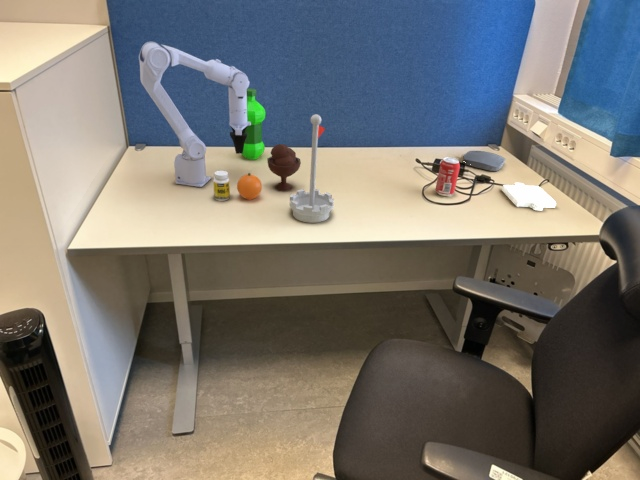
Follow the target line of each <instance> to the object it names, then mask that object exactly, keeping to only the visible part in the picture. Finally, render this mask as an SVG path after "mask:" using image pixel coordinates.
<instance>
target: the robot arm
mask: <svg viewBox="0 0 640 480" xmlns="http://www.w3.org/2000/svg"><path fill="white" fill-rule="evenodd" d="M138 61H139V75H140V76H139V78H140V79H139V80H140V83H141V85H142V86H143V88H144V89H145V91H146V92H147V93H148V95H149V97H150V98H151V100H152V101H153V102H154V104H155V105H156V107H157V109H159V111H160V113H161V114H162V116H163V117H164V118H165V120H166V121H167V123H168V124H169V126H170V127H171V129H172V130H173V132H174V133H175V135H176V137H177V138H178V142H179V143H178V144H179V146H180V148H181V149H183V150H182V152H181V153H177V154H176V156H175V158H174V161H173V167H174V175H175V181H174V183H175V184H177V185H183V186H189V187H191V186H192V187H198V188H203V187H204V186H205V185H206V184H207V183H208V182H209V181H210V180H211V179H212V176H208V175H207V169H206V152H207V146H206V144H205V143H204V141H202V140H201V139H200V138H199V137H198V135H197V134H196V133H195V132H194V131H192V129H191V127H189V125H188V123H187V121H186V120H185V118H184V116H182V114H181V113H180V111H179V109H178V108H177V106H176V105H175V104H174V102H173V100H172V98H171V97H170V96H169V94H168V93H167V91H166V90H165V88H164V86H163V85H162V84H161V81H162V77H163V74H164V73H165V71H166V70H167V69H168V67H169V66H171V67H176V66H178V65H182V66H184V67H187V68H190V69H193V70H196V71H198V72H202V73H203V74H204V76H205V78H206V79H207V80H211V81H213V82H216V83H218V84H220V85H224V86H228V113H229V114H228V115H229V122H228V125H229V127H230V128H231V130H232V131H229V137H230V138H231V140H232V143H233V147H234V150H235V154H238V155H242V153H243V149H244V143H245V140H246V138H247V135H248V133H245V130H246V128H247V126H248V125H251V122H247V89H249V86H250V80H249V77H248V76H247V74H246V73H245V72H243V71H241V70H239V69H238V68H237V67H236V66H234V65H230V66H229V65H227V64H225V63H222V61H221V60H220V59H218V58H215V59H210V60H207V61H205V60H203V59H201V58H198V57H196V56H194V55H192V54H190V53H187V52H185V51H182V50H180V49H178V48H176V47H172V46H169V45H165V44H162V43H161V44H159V43H158V42H155V41H147V42H145V43H144V44H143V45H142V46H141V48H140V51H139V55H138Z"/></svg>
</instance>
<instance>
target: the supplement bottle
mask: <svg viewBox="0 0 640 480" xmlns="http://www.w3.org/2000/svg"><path fill="white" fill-rule="evenodd" d="M213 197H214V199H215V200H216V201H219V202H223V201H224V202H225V201H228V200H229V199H230V197H231V188H230V178H229V173H228V172H227V171H226V170H216V171H215V172H214V178H213Z"/></svg>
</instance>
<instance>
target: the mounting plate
mask: <svg viewBox="0 0 640 480" xmlns="http://www.w3.org/2000/svg"><path fill="white" fill-rule="evenodd" d="M501 191H502V192H503V194H504V195H505V196H506V197H507V198H508V199H509V200H510V201H511V202H512V203H513V204H514V205H515V207H517V208H531V209H533V210H534V211H537V212H542V211H544V208H547V209H548V208H549V209H555V208H556V206H557V202H556V200H554V198H552V197H551V196H550V195H549V194H548V193H547V192H546V191H545V190H544V189H543V188H542V187H540V186H538V185H537V186H536V185H525V184H524V183H522V182H515V183H514V185H513V184H512V185H511V184H510V185H509V184H503V185H502V188H501Z"/></svg>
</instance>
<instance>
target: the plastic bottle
mask: <svg viewBox="0 0 640 480" xmlns="http://www.w3.org/2000/svg"><path fill="white" fill-rule="evenodd" d="M257 94H258V93H257V89H255V88H247V122H251V125H248V126H247V128H246V130H245V133H248V135H247V138H246V140H245V143H244V149H243V153H242V154H241V155H242V156H243V157H244V159H246V160H257V159H259V158H260V157H261V156H262V155H263V153H264V151H265V148H266V147H265V144H264V141H263V121H264V120H265V119H266V109H265V107H263V105H262V104H260V102H259V101H257V100H256V97H257Z"/></svg>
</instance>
